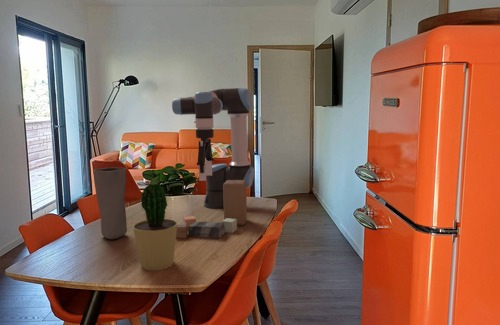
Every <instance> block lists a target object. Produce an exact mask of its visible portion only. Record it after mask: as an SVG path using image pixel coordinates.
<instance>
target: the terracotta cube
mask: <svg viewBox="0 0 500 325" xmlns="http://www.w3.org/2000/svg"><path fill="white" fill-rule="evenodd" d="M182 219H183V223H182V224H186V223H187V231H188V226H189V225H191V224H192V223H194V222H197V218H196V216H195V215H188V216H183V218H182Z"/></svg>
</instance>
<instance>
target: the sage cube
mask: <svg viewBox="0 0 500 325" xmlns="http://www.w3.org/2000/svg"><path fill="white" fill-rule="evenodd" d="M221 222H224V226H225V233H234V232H236V231H237V230H238V225H237V219H231V218H226V219H224V218H223V220H222V221H221Z"/></svg>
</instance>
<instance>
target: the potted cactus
mask: <svg viewBox="0 0 500 325" xmlns="http://www.w3.org/2000/svg"><path fill="white" fill-rule="evenodd" d="M160 184H161V183H149V184H147V185H146V186H145V187H143V189H142V188H140V189H142V191H141V193H140V197H139V200H140V202H141V209H142V212H144V213H145V214H143V215H144V216H145V217H146V219H145V220H141V221H138V222H136V223H134V224H133V225H132V229H133V233H134V234H133V235H134V239H135V244H136V248H137V253H138V257H139V263H140V267H141V269H143V270H145V271H161V270H165V269H168V267H169V268H170V267H172V266H173V265H174V259H175V252H176V241H177V240H176V239H177V238H176V232H177V224H178V221H177V220H175V219H171V218H167V215H166V214H167V211H166V210H168V206H169V204H168V201H169V199H167V195H168V194H166V192H165V189H164V187H165V186H164V187H163V186H161V185H160Z"/></svg>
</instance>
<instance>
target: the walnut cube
mask: <svg viewBox="0 0 500 325" xmlns="http://www.w3.org/2000/svg"><path fill="white" fill-rule="evenodd" d="M187 237H188V230H187V223H186V224H183V223H177V232H176V239H187Z"/></svg>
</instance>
